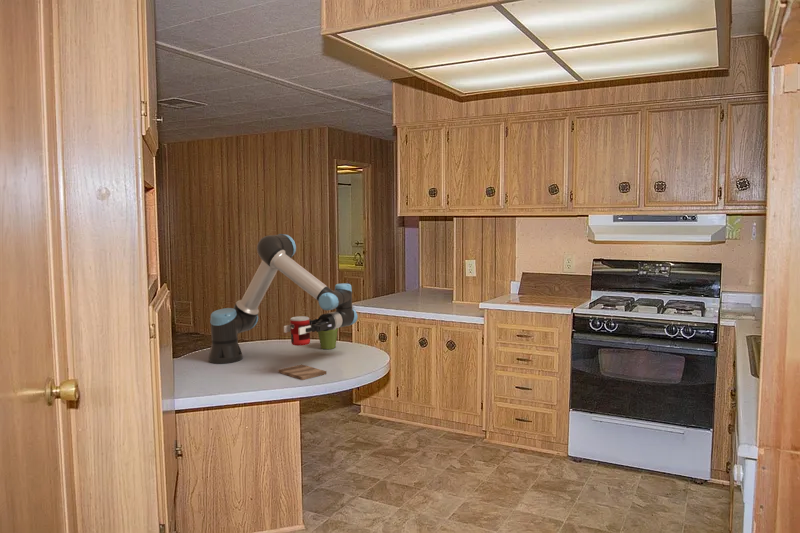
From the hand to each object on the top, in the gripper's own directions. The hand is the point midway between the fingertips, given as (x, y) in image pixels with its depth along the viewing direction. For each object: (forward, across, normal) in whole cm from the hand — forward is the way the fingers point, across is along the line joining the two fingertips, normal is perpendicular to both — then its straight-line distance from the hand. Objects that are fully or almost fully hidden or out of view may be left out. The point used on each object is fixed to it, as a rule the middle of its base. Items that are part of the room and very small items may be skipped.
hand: (291, 330), depth 251 cm
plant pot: (-45, +23, -20) cm, 55 cm away
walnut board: (-5, 0, -19) cm, 20 cm away
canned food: (-5, 0, -7) cm, 8 cm away
